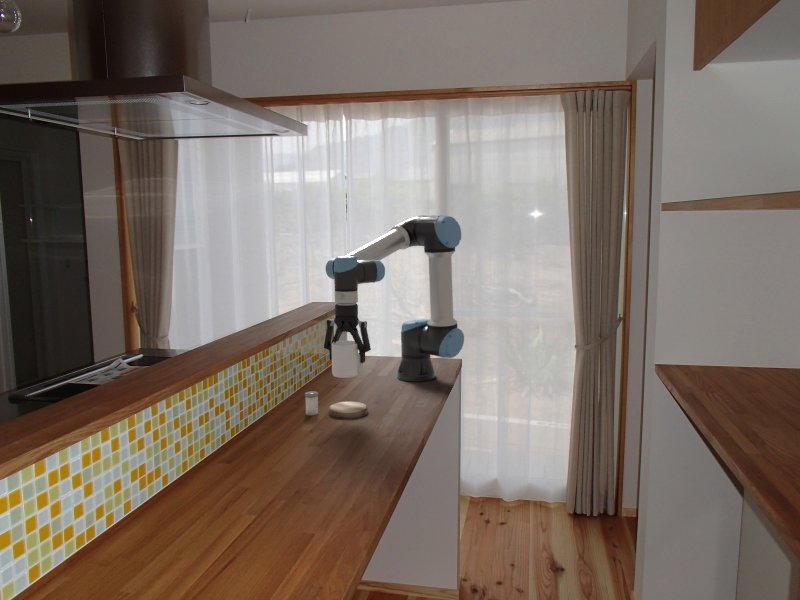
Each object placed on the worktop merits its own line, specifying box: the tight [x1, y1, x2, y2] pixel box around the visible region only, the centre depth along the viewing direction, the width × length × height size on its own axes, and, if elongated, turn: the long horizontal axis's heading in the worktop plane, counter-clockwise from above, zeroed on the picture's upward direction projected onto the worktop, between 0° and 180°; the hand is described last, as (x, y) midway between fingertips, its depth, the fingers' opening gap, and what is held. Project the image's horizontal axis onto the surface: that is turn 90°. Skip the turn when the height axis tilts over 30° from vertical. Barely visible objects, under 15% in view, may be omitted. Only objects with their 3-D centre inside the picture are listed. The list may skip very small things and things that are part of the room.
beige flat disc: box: [328, 400, 369, 420], centre depth 219 cm, size 13×13×2 cm
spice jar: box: [304, 390, 319, 416], centre depth 218 cm, size 4×4×7 cm
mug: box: [331, 340, 359, 379], centre depth 216 cm, size 9×12×11 cm
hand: (347, 371), depth 217 cm, fingers closed on mug, 9 cm apart
